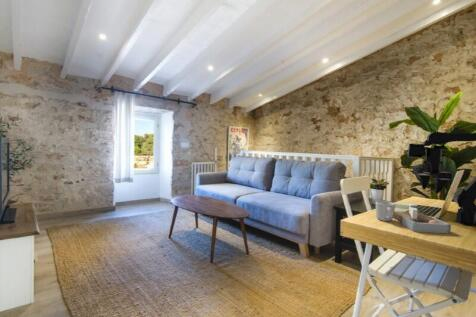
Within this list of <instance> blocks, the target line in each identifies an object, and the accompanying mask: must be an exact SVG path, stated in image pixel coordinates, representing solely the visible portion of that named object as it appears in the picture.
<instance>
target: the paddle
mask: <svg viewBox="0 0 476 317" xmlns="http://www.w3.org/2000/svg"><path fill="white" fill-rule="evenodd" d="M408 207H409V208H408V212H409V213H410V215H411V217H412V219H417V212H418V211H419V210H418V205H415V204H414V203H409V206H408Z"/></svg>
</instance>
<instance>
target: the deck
mask: <svg viewBox="0 0 476 317" xmlns="http://www.w3.org/2000/svg"><path fill="white" fill-rule="evenodd" d="M402 217H406V218H408V219H410V220H412V221H414V222H416V223H428V222H429V221H430V220H433V217H432V216H429V215H427V214H426V213H422V212H417V219H412V217H411V215H410V213H409V211H395V210H394V215H393V219H394V220H395V221H397V222H399V223H401V224H402Z"/></svg>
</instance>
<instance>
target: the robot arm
mask: <svg viewBox="0 0 476 317" xmlns="http://www.w3.org/2000/svg"><path fill="white" fill-rule="evenodd" d="M451 142H476V132H469V133H468V132H466V133H465V132H464V133H462V132H461V133H451V132H450V133H449V132H443V131H434V132H430V133H429V134H427V136H426V139H425V140H424V141H423V142H422V143H421V144H420V143H408V144H409V145H408V149H407V158H417V159H422V158H423V157H425V159H424V160H422V163H420V164H415V165H412V166H411V169H412V173H413V174H414V175H415V176H416V177H418V179H419V181H420V184H421V188H422V190H426V188H427V187H428V184H429V182H430V179H431V176H432V177H433V178H432V179H433V181H434V182H435V190H434V191H435V194H439V193H440V192H441V191H442V189H443V188H444V187H445V186H446V185H447V183H449V181H451V180H454V174H453V173H452V172H448V171H443V170H442V169H441V164H444V161H443V160H442V153H443V150H448V147H447V146H446V145H445V144H446V143H451ZM439 144H441V145H439ZM430 146H431V147H430ZM425 155H426V156H425ZM452 198H453V201H454V203H456V204H457V206H458V207H459V208H457V211H456V217H455V218H456V219H454V220H453V221H454V222H457V223H459V224H462V225H464V226H476V203H475V202H476V175H475V176H474V177H473V179H471V181H470V182H469V183H468V184H467V186H465V187H463V188H462V187H461V186H458V188H457V190H456V192H453V197H452Z"/></svg>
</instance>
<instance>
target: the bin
mask: <svg viewBox="0 0 476 317" xmlns="http://www.w3.org/2000/svg"><path fill="white" fill-rule="evenodd" d="M432 218H433V217H432ZM433 220H435V221H437V222H438V224H437V223H416V222H414V221H412V220H410V219H408V218H406V217H402V223H401V225H402V226H403V227H405V228H407V229H409V230H410V231H412V232H414V233H415V232H416V233H433V234H434V233H435V234H451V228H452V225H451V224H450V223H447V222H445V221H443V220H441V219H438V218H435V217H434V218H433Z"/></svg>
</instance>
